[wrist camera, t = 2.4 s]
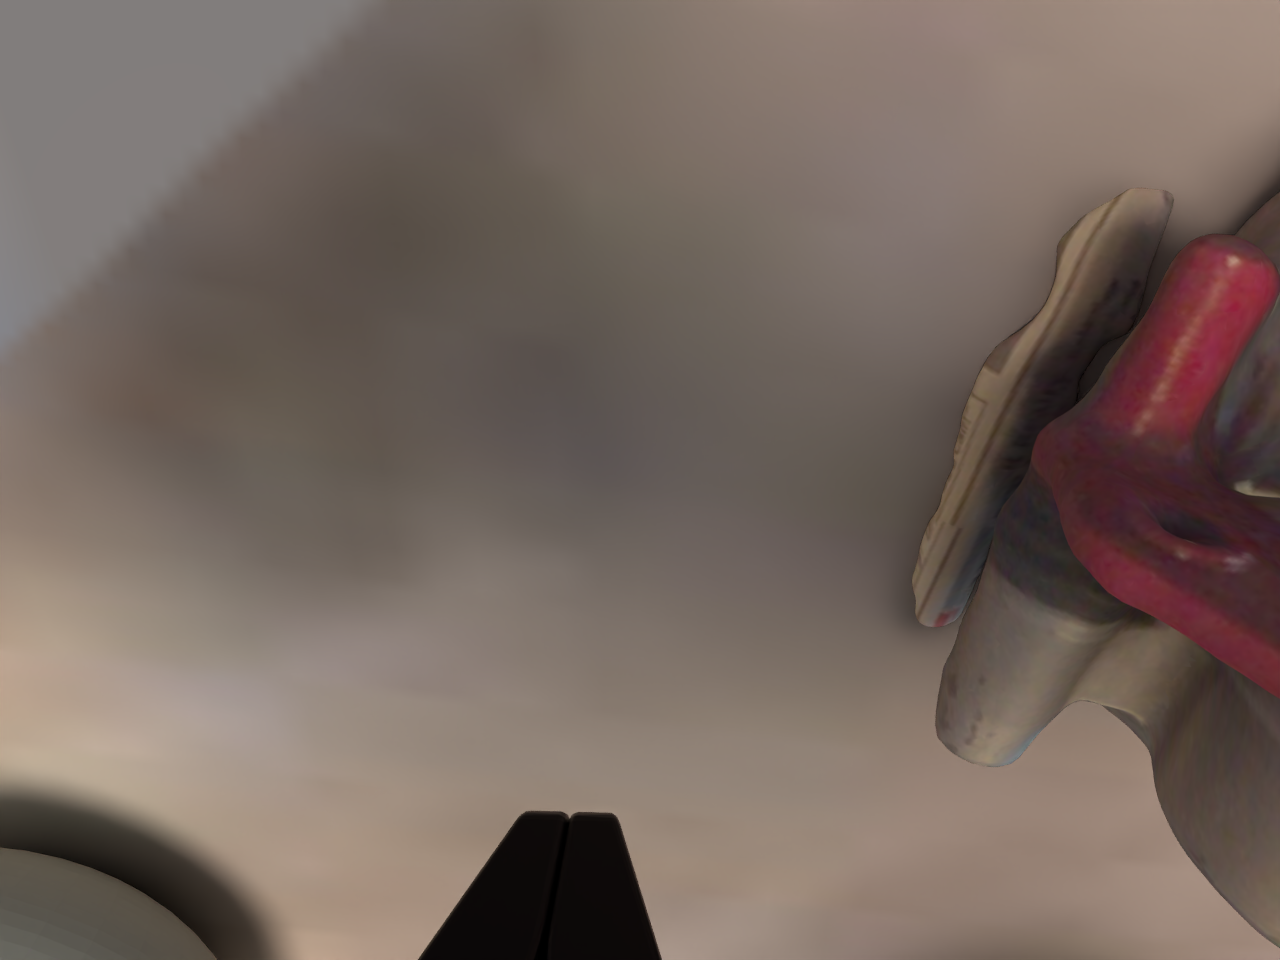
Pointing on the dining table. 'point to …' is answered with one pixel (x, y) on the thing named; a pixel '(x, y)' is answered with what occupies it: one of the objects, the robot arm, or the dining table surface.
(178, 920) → the air freshener
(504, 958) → the robot arm
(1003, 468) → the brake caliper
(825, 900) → the dining table surface
